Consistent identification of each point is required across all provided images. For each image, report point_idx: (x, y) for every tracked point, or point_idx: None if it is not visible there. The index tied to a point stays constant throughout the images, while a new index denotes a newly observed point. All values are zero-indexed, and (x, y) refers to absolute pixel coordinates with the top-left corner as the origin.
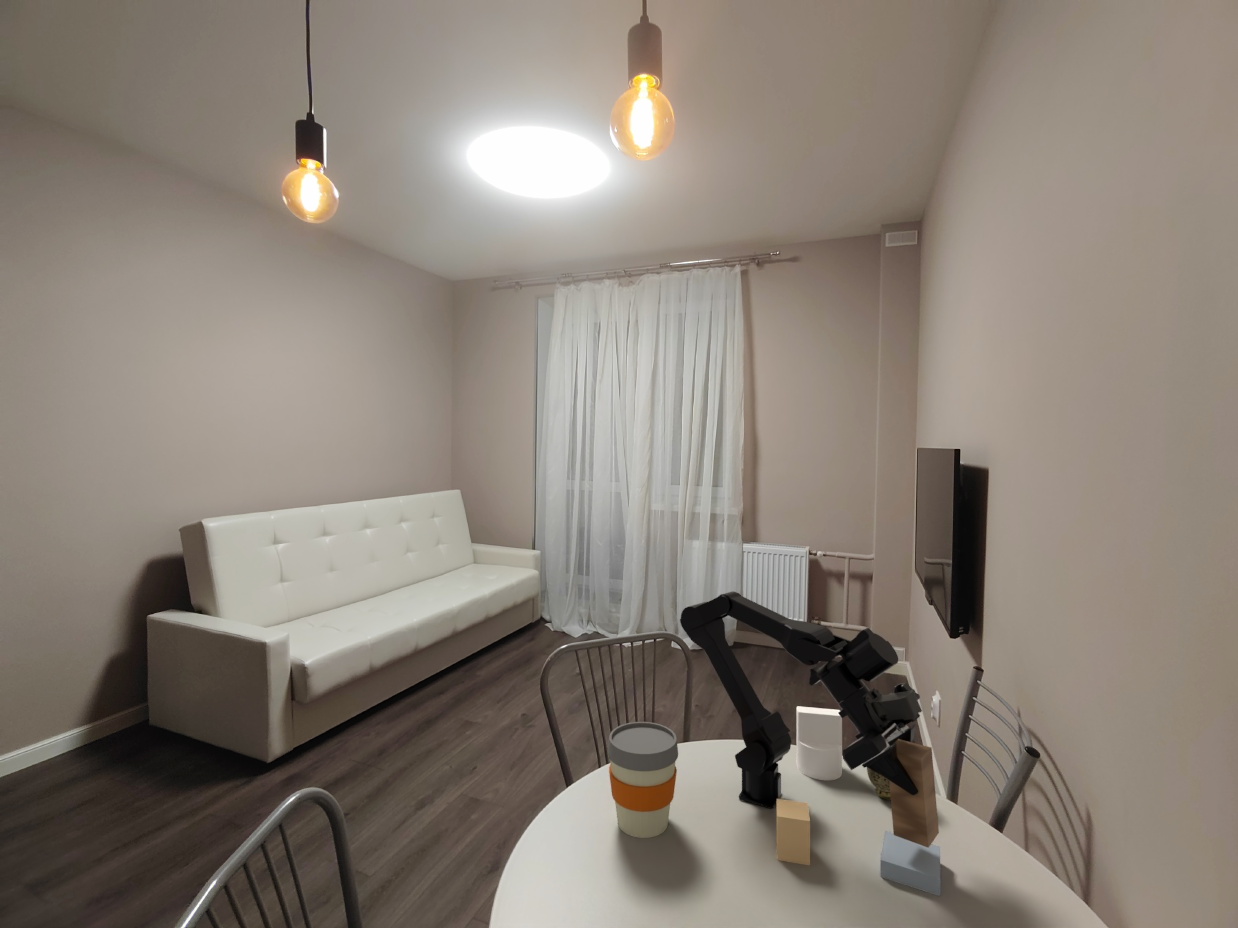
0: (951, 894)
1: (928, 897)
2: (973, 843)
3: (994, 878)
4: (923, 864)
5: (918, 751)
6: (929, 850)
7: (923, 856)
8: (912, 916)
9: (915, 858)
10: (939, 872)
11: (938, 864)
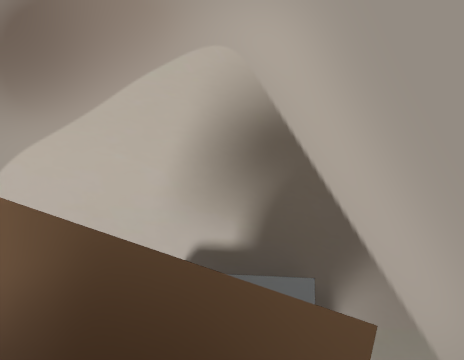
0: (288, 257)
1: None
2: (59, 196)
3: (181, 166)
4: None
5: (128, 352)
6: None
7: None
8: (428, 354)
9: None
10: (287, 278)
11: (250, 279)
